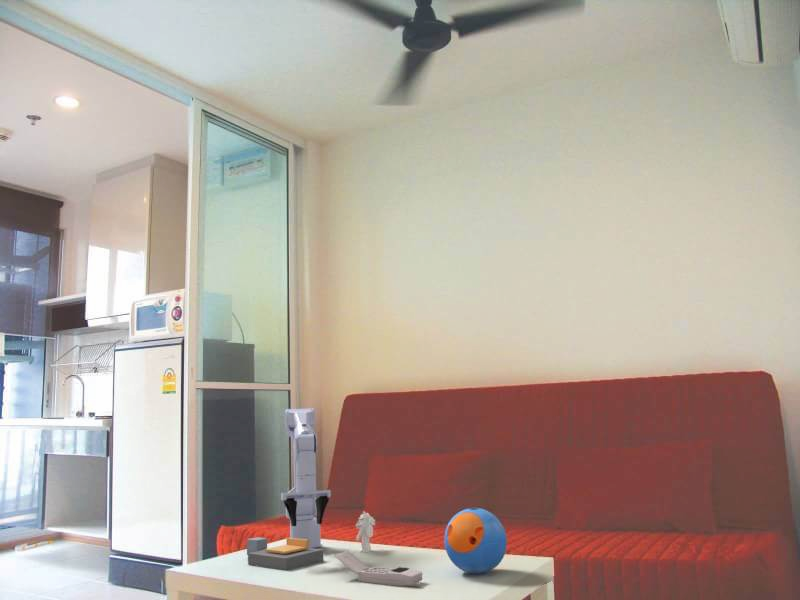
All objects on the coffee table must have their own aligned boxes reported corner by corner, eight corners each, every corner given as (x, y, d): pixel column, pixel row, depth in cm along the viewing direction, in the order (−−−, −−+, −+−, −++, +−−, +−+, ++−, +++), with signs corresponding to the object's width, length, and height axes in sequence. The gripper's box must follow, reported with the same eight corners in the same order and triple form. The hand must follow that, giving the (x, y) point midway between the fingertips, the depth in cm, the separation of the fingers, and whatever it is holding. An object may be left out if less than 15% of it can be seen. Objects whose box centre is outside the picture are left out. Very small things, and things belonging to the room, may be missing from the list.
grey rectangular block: (257, 555, 193) (257, 537, 194) (267, 557, 191) (267, 538, 192) (246, 558, 190) (246, 539, 191) (256, 559, 188) (256, 540, 189)
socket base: (285, 555, 191) (285, 545, 192) (323, 560, 182) (323, 549, 182) (247, 564, 181) (248, 553, 181) (285, 570, 171) (285, 558, 172)
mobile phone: (346, 550, 165) (430, 556, 151) (347, 575, 163) (431, 583, 150) (331, 555, 160) (416, 562, 146) (332, 580, 158) (418, 589, 145)
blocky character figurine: (363, 553, 189) (362, 511, 192) (352, 553, 191) (351, 511, 193) (378, 548, 197) (377, 507, 200) (367, 547, 199) (366, 507, 201)
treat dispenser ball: (518, 569, 161) (513, 505, 164) (492, 582, 148) (488, 513, 151) (463, 564, 169) (460, 504, 172) (434, 577, 156) (431, 511, 159)
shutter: (289, 546, 188) (289, 537, 189) (309, 548, 183) (308, 539, 184) (265, 551, 181) (265, 542, 182) (285, 554, 176) (284, 544, 177)
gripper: (286, 476, 180) (286, 527, 177) (334, 474, 187) (335, 523, 183) (278, 477, 186) (278, 526, 183) (325, 475, 193) (326, 522, 189)
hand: (306, 525), depth 183 cm, fingers open, 7 cm apart
